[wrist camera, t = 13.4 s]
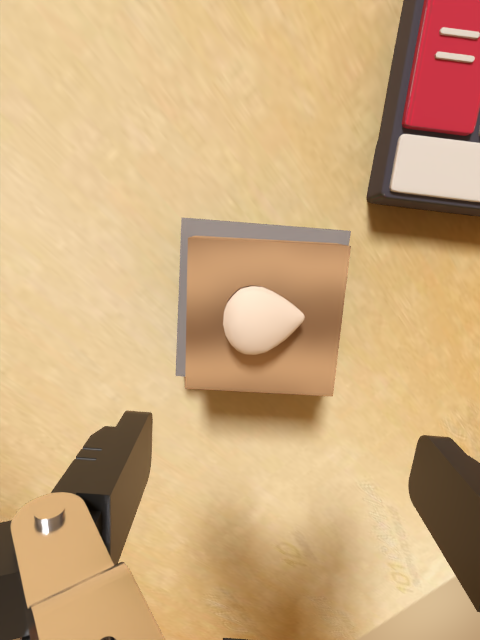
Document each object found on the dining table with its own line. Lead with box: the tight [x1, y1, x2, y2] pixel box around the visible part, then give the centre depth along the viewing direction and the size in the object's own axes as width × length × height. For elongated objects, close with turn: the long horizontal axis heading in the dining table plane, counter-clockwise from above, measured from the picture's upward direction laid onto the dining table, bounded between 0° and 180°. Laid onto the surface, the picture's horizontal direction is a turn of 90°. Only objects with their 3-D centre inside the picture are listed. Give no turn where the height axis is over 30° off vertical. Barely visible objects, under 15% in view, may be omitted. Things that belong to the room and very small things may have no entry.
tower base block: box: [176, 218, 351, 376], centre depth 30 cm, size 12×12×4 cm
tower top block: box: [185, 236, 351, 396], centre depth 27 cm, size 10×10×4 cm
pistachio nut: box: [223, 285, 305, 355], centre depth 23 cm, size 4×5×2 cm
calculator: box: [367, 0, 480, 216], centre depth 27 cm, size 11×4×15 cm
